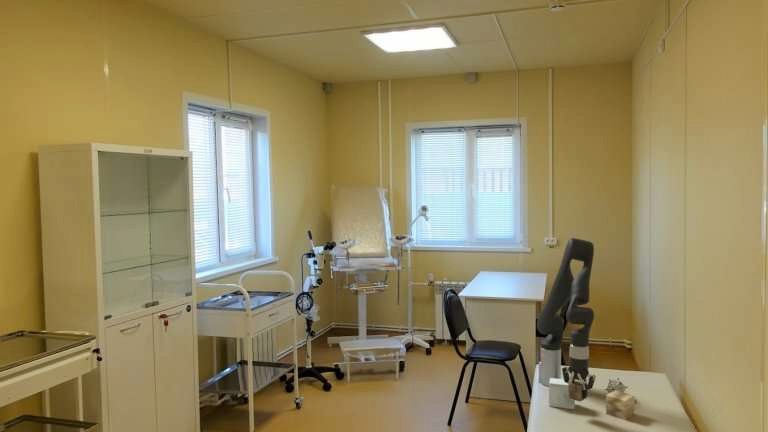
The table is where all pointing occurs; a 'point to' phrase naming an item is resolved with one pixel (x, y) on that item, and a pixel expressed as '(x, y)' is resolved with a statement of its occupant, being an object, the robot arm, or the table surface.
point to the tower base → (620, 412)
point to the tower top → (620, 400)
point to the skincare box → (560, 394)
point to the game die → (615, 386)
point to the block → (576, 391)
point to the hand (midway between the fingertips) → (577, 395)
